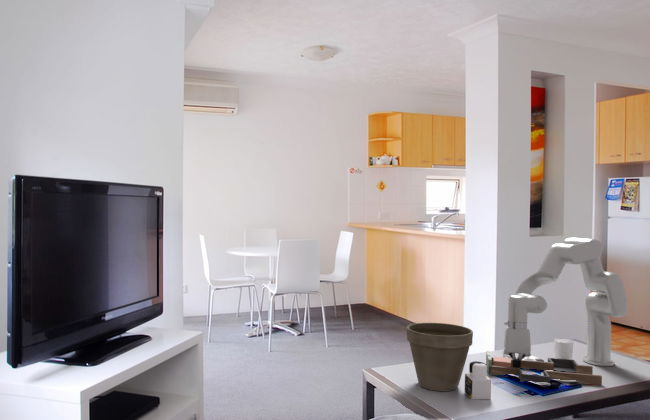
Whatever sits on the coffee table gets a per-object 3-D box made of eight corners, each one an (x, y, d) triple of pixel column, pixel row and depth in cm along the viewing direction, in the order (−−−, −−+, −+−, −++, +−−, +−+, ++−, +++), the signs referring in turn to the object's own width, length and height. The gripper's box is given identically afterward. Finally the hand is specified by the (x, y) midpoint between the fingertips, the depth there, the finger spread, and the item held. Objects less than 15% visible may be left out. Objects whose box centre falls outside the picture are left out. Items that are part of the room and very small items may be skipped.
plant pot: (415, 371, 211) (416, 318, 211) (477, 381, 200) (478, 325, 201) (396, 389, 189) (398, 330, 189) (464, 401, 178) (466, 339, 178)
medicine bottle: (464, 392, 187) (465, 359, 187) (483, 392, 187) (483, 359, 187) (471, 399, 180) (472, 365, 180) (491, 399, 180) (491, 365, 180)
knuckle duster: (549, 367, 223) (521, 370, 218) (521, 356, 240) (495, 358, 235) (549, 360, 223) (522, 362, 218) (521, 349, 240) (495, 351, 235)
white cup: (575, 366, 225) (575, 343, 225) (555, 364, 226) (556, 342, 226) (570, 361, 232) (570, 339, 233) (551, 359, 234) (552, 337, 234)
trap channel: (484, 360, 230) (485, 346, 231) (586, 369, 221) (587, 355, 221) (489, 380, 202) (490, 365, 202) (607, 391, 192) (607, 375, 192)
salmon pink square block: (493, 366, 221) (493, 356, 221) (510, 368, 219) (510, 358, 219) (493, 371, 215) (493, 360, 215) (510, 373, 212) (511, 362, 212)
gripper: (499, 325, 212) (498, 370, 211) (538, 328, 208) (537, 373, 208) (497, 322, 219) (496, 364, 219) (535, 324, 215) (534, 368, 215)
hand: (516, 369), depth 213 cm, fingers closed
